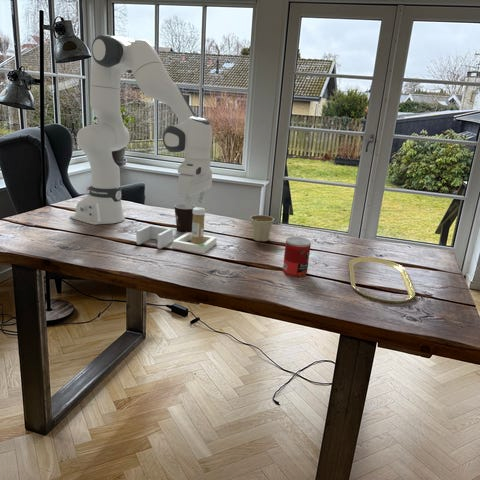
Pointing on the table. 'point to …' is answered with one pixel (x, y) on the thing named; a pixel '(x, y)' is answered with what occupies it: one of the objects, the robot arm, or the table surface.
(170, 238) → the bracket
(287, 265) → the canned food
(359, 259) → the gold ring
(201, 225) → the sprinkles bottle
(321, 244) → the table surface
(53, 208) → the table surface
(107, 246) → the table surface
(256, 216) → the flower pot
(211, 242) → the block
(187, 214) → the dark brown cup
